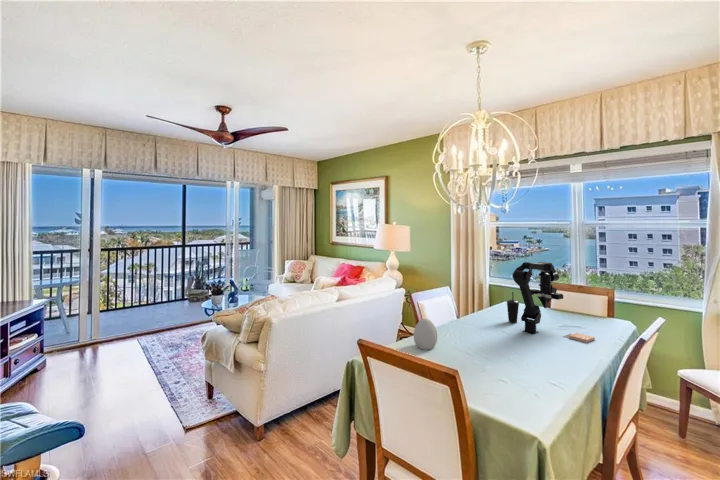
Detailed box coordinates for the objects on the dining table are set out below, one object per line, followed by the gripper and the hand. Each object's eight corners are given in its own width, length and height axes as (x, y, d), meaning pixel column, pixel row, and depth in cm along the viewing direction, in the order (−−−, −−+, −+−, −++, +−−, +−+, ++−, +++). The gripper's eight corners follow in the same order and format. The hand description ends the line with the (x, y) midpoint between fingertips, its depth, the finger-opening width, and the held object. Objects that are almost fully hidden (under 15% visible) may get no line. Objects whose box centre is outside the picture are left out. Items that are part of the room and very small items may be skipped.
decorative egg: (442, 347, 173) (442, 318, 173) (427, 353, 165) (427, 323, 165) (423, 341, 183) (423, 314, 182) (408, 347, 174) (408, 318, 174)
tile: (569, 338, 183) (587, 342, 175) (569, 335, 183) (587, 339, 175) (576, 335, 187) (594, 340, 179) (576, 332, 187) (594, 337, 179)
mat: (587, 344, 174) (587, 343, 174) (562, 337, 186) (562, 336, 186) (596, 340, 179) (596, 340, 179) (570, 334, 190) (570, 333, 190)
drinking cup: (512, 324, 210) (512, 293, 210) (503, 321, 218) (503, 291, 217) (522, 323, 212) (522, 292, 212) (513, 320, 220) (513, 290, 219)
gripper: (568, 283, 197) (568, 309, 198) (539, 279, 214) (538, 303, 214) (557, 285, 192) (557, 312, 193) (528, 281, 208) (528, 305, 209)
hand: (545, 308), depth 202 cm, fingers closed
